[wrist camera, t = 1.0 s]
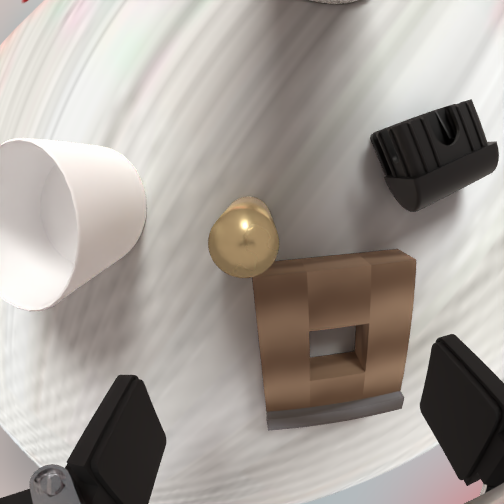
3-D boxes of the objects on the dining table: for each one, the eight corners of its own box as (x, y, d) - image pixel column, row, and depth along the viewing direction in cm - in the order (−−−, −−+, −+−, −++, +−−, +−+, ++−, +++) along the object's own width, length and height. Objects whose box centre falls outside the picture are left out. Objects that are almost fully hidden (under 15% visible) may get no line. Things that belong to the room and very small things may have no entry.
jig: (252, 263, 28) (252, 282, 23) (397, 248, 28) (422, 263, 23) (266, 399, 32) (268, 431, 27) (386, 382, 32) (401, 409, 27)
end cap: (391, 207, 27) (427, 218, 20) (363, 136, 25) (394, 126, 19) (465, 172, 26) (507, 175, 19) (442, 107, 24) (481, 96, 18)
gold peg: (222, 199, 27) (204, 212, 17) (268, 194, 27) (275, 205, 17) (228, 243, 28) (213, 280, 18) (272, 239, 28) (281, 274, 18)
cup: (168, 232, 28) (113, 272, 16) (80, 281, 29) (10, 332, 18) (116, 123, 25) (39, 100, 14) (34, 185, 27) (-47, 198, 15)
